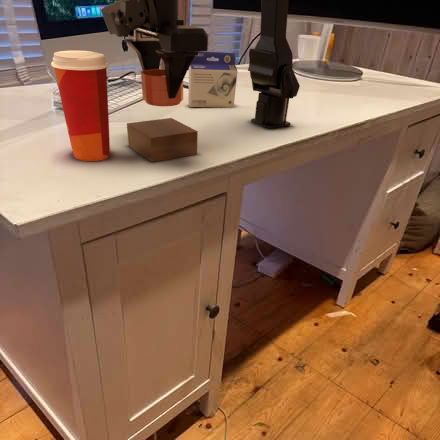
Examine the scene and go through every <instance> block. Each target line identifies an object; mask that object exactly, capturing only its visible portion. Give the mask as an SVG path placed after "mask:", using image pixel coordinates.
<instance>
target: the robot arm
mask: <svg viewBox="0 0 440 440" xmlns="http://www.w3.org/2000/svg"><path fill="white" fill-rule="evenodd" d="M289 1H290V0H261V2H260V3H261V4H260V5H261V7H260V32H259V38H258V41H257V42H256V45H255V47H254V48H250V49H249V51H248V59H249V62H248V68H247V72H249V76H250V79H251V85H252V90H253V91H254V92H258V96H257V101H256V104H255V113H254V117H253V118H251V119H250V122H252V123H253V124H257V125H259V126H262V127H263V128H266V129H276V128H283V127H288V126H289V127H290V126H291V122H289V121H287V117H288V111H289V110H288V109H289V104H290V99H294V98H295V97H297V95H298V93H299V90H300V86H301V85H300V83H299V81H298V78H297V76H296V74H295V72H294V69H293V68H294V65H293V64H294V61H293V60H294V59H293V52H292V49H291V47H290V44H289V41H288V39H287V27H288V15H289V13H288V12H289ZM100 12H101V15H102V17H103V20H104V22H105V25H106V28H107V30H108V33H109V35H111V36H112V35H115V36H116V37H117V38H122V37H124V42H125V43H126V44H128V46H129V47H131V48H132V50H134V51H135V53H136V55H137V58H138V60H139V63H140V67H141V71H143V70H148V69H160V67H161V60H162V61H163V64H164V65H163V66H164V69H165V75H166V85H167V92H168V97H169V98H170V99H173V98H175V97H176V95H177V93H178V91H179V88H180V86H181V84H182V82H183V83H184V79H185V77H186V76H187V75H186V74H187V73H188V72H189V67H190V65H191V63H192V61H193V59H194V57H195V56H197V55H198V54H199V52H209V51H208V50H209V35H208V33H207V31H206V30H205V29H204V27H199V26H195V25H185V20H184V19H181V18H179V0H117V1H115V2H113V3H110V4H108V5H106V6H104V7H102V8H101V9H100Z"/></svg>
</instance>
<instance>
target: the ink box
mask: <svg viewBox="0 0 440 440" xmlns="http://www.w3.org/2000/svg"><path fill="white" fill-rule="evenodd" d="M211 58H214V59H218V60H208V59H211ZM236 58H237V53H236V52H223V51H199V54H198V55H197V56H195V57H194V59H193V61H192V63H191V65H190V67H189V69H188V94H187V95H188V97H187V102H188V103H187V104H188V107H189V108H208V107H209V108H234V107H235V98H236V89H237V79H238V67H237V65H236Z"/></svg>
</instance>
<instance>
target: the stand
mask: <svg viewBox="0 0 440 440" xmlns="http://www.w3.org/2000/svg"><path fill="white" fill-rule="evenodd" d="M126 131H127V143H128V145H127V146H128V147H129V148H130V149H132V150H133V151H135V152H136V153H137V154H139V155H141V156H142V157H144V158H145V159H146V160H148V161H149V162H151V163H155V162H162V161H167V160H172V159H178V158H183V157H189V156H195V155H198V136H199V135H198V133H199V131H198V130H196V129H194V128H192V127H191V126H188V125H186V124H185V123H182V122H180V121H179V120H176V119H174V118H172V117H167V118H159V119H151V120H141V121H134V122H127V123H126Z"/></svg>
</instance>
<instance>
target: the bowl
mask: <svg viewBox="0 0 440 440" xmlns="http://www.w3.org/2000/svg"><path fill="white" fill-rule="evenodd" d="M140 78H141V80H140V81H141V82H140V83H141V96H142V100H143V101H144V102H145V103H146V105H149V106H153V107H176V106H178V105H180V104H181V102H182V101H184V81H183V82H182V84H181V86H180V88H179V91H178V93H177V95H176V97H175V98H173V99H170V98H169V97H168V92H167V85H166V75H165V68H159V69H148V70H141V71H140Z"/></svg>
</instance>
